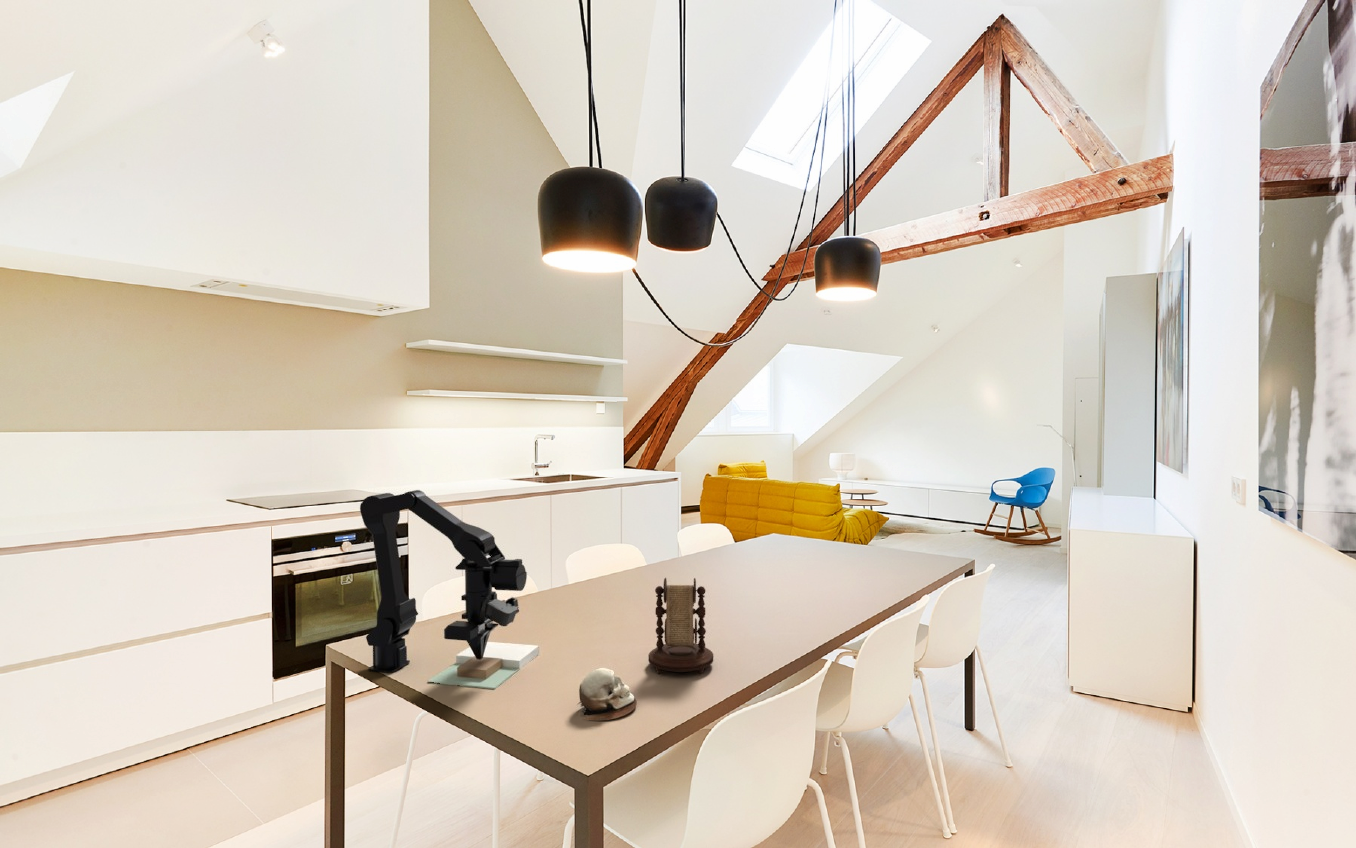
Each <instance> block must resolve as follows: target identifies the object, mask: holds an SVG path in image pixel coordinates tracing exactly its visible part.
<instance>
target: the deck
mask: <svg viewBox="0 0 1356 848" xmlns="http://www.w3.org/2000/svg"><path fill="white" fill-rule="evenodd" d="M539 655H540V645H535V644H520V643H507V642H496V641H487V645H486V648H485V652H484V655H483V657H490V658H502V667H507V668H518V669H519V670H518V671H520V670H521V669H523V668H524V667H525V666H526V665H527V664H528V663H530V662H531V661H532V660H534V659H535V658H536V657H537V656H539ZM474 656H475V655H474V653H473V651H472V650H471V648H470V646H469V647H467V648H465V649H464V650H462V651H461V652H458V653H457V654H456V655H455V663H461V664H463V663H465V662H466V661H468V660H469V659H471V658H472V657H474Z"/></svg>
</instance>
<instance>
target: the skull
mask: <svg viewBox="0 0 1356 848" xmlns="http://www.w3.org/2000/svg"><path fill="white" fill-rule="evenodd" d="M578 693H579V694H578V695H579V702H578V703H577V704H576V705H580V708H581V707H583V708H584V710H582V711H581V712H582V713H583V714H581V715H580V716H581V717H582V719H583V720H588V721H599V722H601V721H609V720H613V719H618V718H621V717H624V716H626V715H628V714H629V713H631V712H633V711H634V710H635V708H636V706H637V704H638V702H637V699H636V698H635V696H634V694H632V692H630V686H629V685H627V684H625V681H622V679H621V677H620V676H619V675H615V672H614V670H612V669H609V668H607V667H606V668H605V667H600V668H596V669H594V670H592V671H590V672H589V673H588V674H587V675H586V676H585V677H584V678H583V679H582V681H581V682H580V684H579V691H578Z"/></svg>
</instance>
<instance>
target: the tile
mask: <svg viewBox="0 0 1356 848" xmlns="http://www.w3.org/2000/svg"><path fill="white" fill-rule="evenodd" d="M501 668H502V658H490V657H483V658H482V659H480V660H479V659H476V657H475V656H474V657H472V658H471V659H469V660H468V661H466V662H465V663H463V664H462V665H460V666H459V667H457V677H467V678H478V679H487V678H489V677H490V676H491V675H493V674H494V673H495V672H497V671H498V670H499V669H501Z"/></svg>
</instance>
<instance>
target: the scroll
mask: <svg viewBox="0 0 1356 848" xmlns="http://www.w3.org/2000/svg"><path fill="white" fill-rule="evenodd" d="M667 582H668V581H667V577H664V579H663V587H662V586H660V585H658V586H656V587H655V589H654V591H655V594H656V595H655V597H656V603H655V605H656V607H655V611H654V612H655V613H654V614H655V616H656V618H657V620H656V622H655V623H656V628H655V633H656V635H657V636H656V639H657V640H656V644H655V646H656V647H655V648H654V649H652V650H650V652H649V653H648V663H649V664H650V665H651V666H652V667H654V668H655V670H656V671H655V672H656V673H657V674H658V675H659V674H661V672H662V671H665V672H675V673H687V672H694V671H695V672H696V671H698V673H699V674H700V675H703V674H704V669H705V668H707V667H709V666H710V665H712V664H713V662H714V653H713V651H712V650H710V649H709V648H707V647H706V642H705V638H706V636H705V635H706V633H707V630H706V628H705V625H706V623H705V620H704V618H706V617H705V616H706V607H705V604H706V603H705V599H704V598H706V596H705V593H706V588H705V587H704V586H702V585H701V586H699V587H697V580H696V577H694V578H693V584H692V585H691V584H668V583H667ZM697 594H698V595H697ZM697 597H698V602H697ZM696 602H697V605H698V607H697V608H694V606H695V604H696ZM664 604H666V608H664V606H663V605H664ZM664 615H666V616H665V617H666V618H664V620H665V621H664V622H663V617H664ZM694 615H697V616H698V618H699V619H698V620H697V618H696V617H695V618H694ZM663 625H664V627H663ZM663 635H664V636H663ZM663 638H664V641H663ZM661 670H662V671H661Z"/></svg>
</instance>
